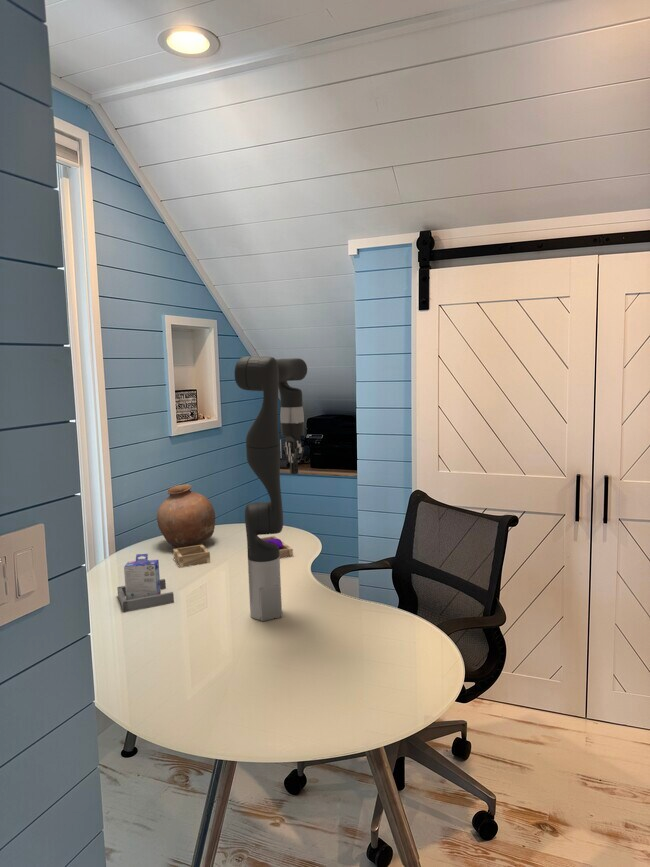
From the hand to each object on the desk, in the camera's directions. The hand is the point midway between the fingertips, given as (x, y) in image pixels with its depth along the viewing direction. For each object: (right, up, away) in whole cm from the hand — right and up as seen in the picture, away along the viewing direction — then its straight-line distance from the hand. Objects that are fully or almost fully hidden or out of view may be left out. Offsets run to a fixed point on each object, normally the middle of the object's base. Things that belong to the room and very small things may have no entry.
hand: (294, 473), depth 195 cm
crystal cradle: (-11, -33, +39) cm, 52 cm away
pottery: (-46, -33, +50) cm, 76 cm away
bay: (-47, -39, -5) cm, 62 cm away
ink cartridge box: (-47, -40, -6) cm, 62 cm away
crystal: (-12, -33, +41) cm, 54 cm away
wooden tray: (-40, -35, +31) cm, 62 cm away
